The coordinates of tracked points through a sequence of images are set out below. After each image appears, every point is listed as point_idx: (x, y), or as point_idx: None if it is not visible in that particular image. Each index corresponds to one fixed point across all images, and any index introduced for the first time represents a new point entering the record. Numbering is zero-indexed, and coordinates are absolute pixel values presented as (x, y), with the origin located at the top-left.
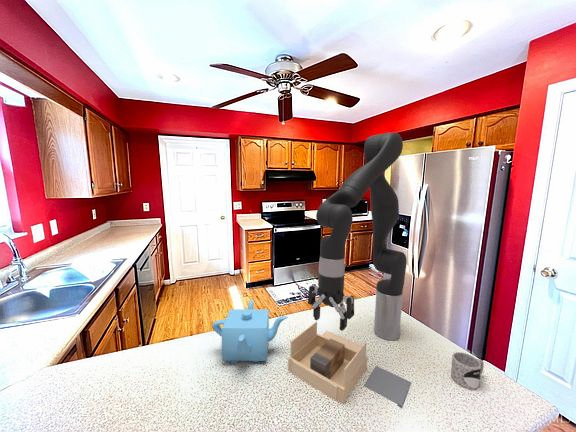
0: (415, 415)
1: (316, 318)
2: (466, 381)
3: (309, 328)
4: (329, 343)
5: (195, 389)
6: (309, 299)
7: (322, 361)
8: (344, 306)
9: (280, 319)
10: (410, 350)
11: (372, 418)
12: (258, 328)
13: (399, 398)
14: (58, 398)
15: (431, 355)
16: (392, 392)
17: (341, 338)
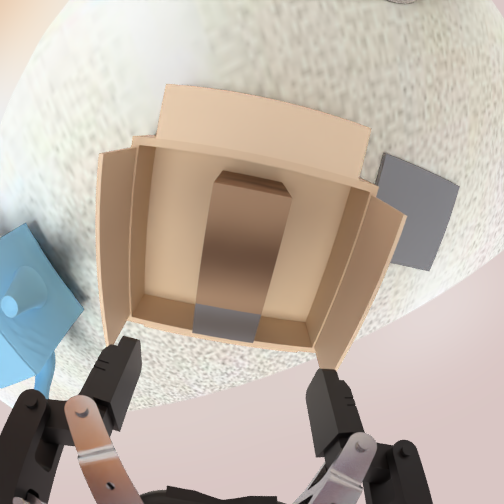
0: (443, 272)
1: (137, 378)
2: None
3: (102, 231)
4: (222, 223)
5: (64, 377)
6: (44, 455)
7: (236, 331)
8: (358, 492)
9: (13, 317)
10: (455, 43)
11: (368, 320)
12: (27, 378)
13: (429, 253)
14: (16, 400)
15: (489, 58)
16: (419, 242)
17: (253, 108)
